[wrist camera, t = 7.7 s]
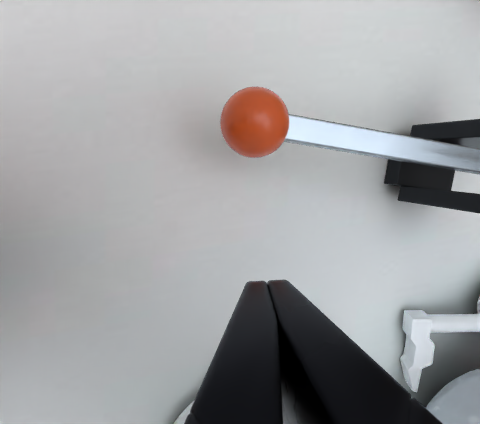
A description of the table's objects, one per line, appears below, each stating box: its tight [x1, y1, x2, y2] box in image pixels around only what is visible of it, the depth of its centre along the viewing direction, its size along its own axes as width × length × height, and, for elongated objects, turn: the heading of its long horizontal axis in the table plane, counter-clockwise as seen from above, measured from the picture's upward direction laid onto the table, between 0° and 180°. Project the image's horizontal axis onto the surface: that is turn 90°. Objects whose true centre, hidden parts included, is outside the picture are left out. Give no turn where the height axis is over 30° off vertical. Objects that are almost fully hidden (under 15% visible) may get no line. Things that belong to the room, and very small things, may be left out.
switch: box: [220, 87, 480, 174], centre depth 17 cm, size 18×3×3 cm, turn 81°
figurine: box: [400, 296, 480, 392], centre depth 28 cm, size 8×6×12 cm
